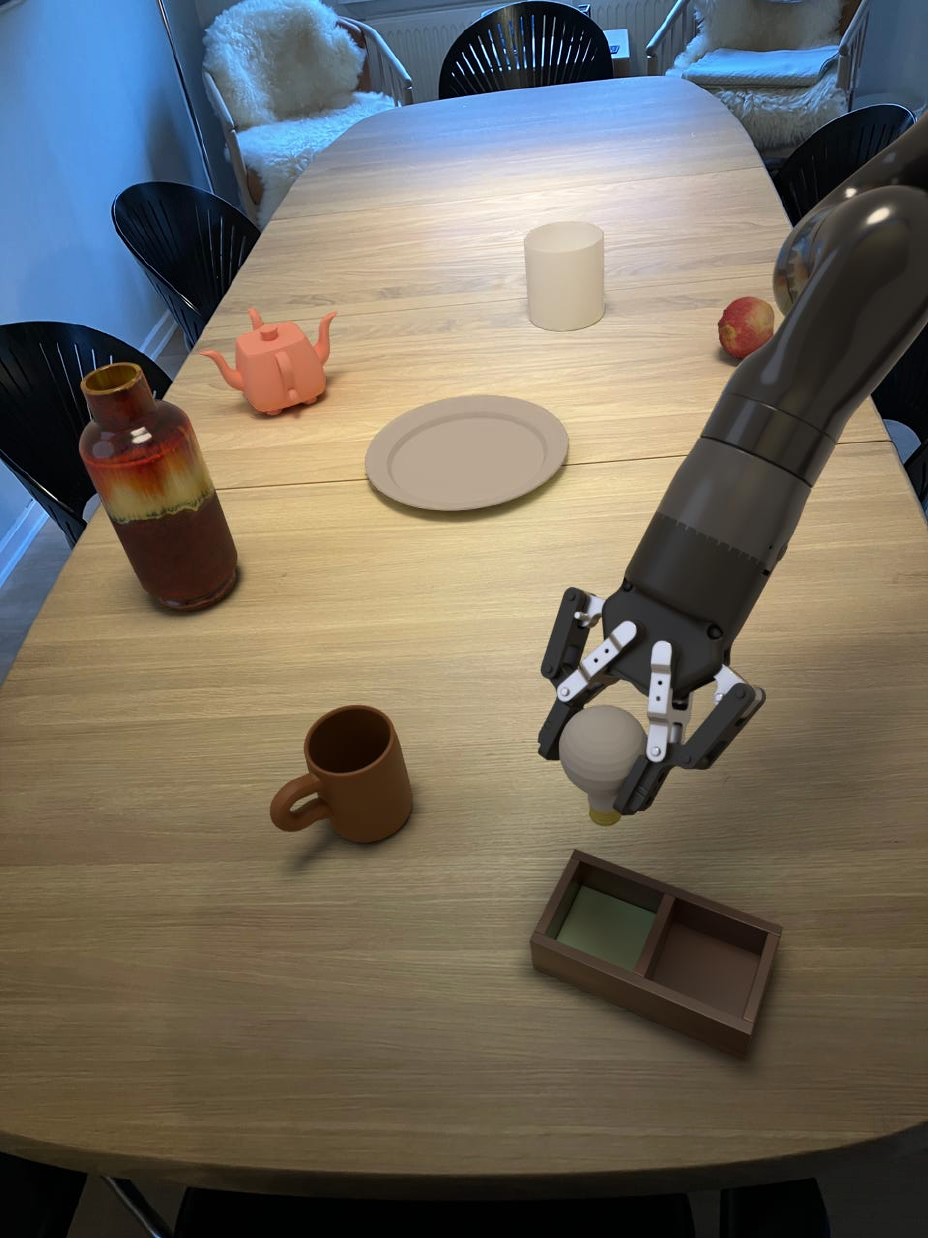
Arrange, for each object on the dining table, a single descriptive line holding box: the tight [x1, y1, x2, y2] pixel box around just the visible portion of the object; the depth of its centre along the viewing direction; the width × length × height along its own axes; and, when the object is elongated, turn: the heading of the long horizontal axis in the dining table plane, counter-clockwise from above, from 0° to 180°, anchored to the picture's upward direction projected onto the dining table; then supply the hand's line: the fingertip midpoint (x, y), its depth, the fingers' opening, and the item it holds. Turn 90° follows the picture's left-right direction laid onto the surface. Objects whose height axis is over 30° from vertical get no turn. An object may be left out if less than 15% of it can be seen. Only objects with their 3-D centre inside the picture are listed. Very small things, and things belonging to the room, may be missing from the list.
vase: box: [78, 362, 238, 613], centre depth 95 cm, size 11×11×26 cm
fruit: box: [717, 296, 776, 360], centre depth 125 cm, size 8×8×8 cm
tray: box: [529, 848, 784, 1061], centre depth 65 cm, size 8×15×4 cm, turn 62°
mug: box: [269, 704, 413, 843], centre depth 75 cm, size 12×8×9 cm, turn 134°
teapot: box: [198, 307, 338, 416], centre depth 130 cm, size 14×14×11 cm
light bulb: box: [559, 704, 648, 828], centre depth 58 cm, size 6×6×10 cm
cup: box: [523, 220, 606, 332], centre depth 139 cm, size 12×12×12 cm
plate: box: [364, 394, 570, 511], centre depth 116 cm, size 26×26×2 cm
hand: (585, 783), depth 56 cm, fingers closed on light bulb, 5 cm apart
